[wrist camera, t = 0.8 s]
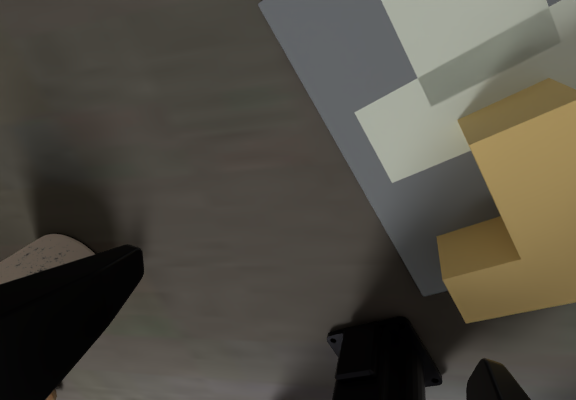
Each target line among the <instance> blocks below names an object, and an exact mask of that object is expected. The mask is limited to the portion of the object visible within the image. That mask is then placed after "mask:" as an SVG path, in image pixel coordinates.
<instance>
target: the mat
mask: <svg viewBox="0 0 576 400" xmlns="http://www.w3.org/2000/svg"><path fill="white" fill-rule="evenodd" d="M258 6H259V8H260V9H261V11H262V13H263V15H264V16H265V18H266V20H267V22H268V23H269V25H270V27H271V29H272V31H273V32H274V34H275V36H276V38H277V39H278V41H279V43H280V45H281V46H282V48H283V50H284V52H285V53H286V55H287V57H288V59H289V61H290V62H291V64H292V66H293V68H294V69H295V71H296V73H297V75H298V76H299V78H300V80H301V82H302V84H303V85H304V87H305V89H306V91H307V92H308V94H309V96H310V98H311V99H312V101H313V103H314V105H315V106H316V108H317V110H318V112H319V114H320V115H321V117H322V119H323V121H324V122H325V124H326V126H327V128H328V129H329V131H330V133H331V135H332V136H333V138H334V140H335V142H336V144H337V145H338V147H339V149H340V151H341V152H342V154H343V156H344V158H345V159H346V161H347V163H348V165H349V166H350V168H351V170H352V172H353V174H354V175H355V177H356V179H357V181H358V182H359V184H360V186H361V188H362V189H363V191H364V193H365V195H366V196H367V198H368V200H369V202H370V204H371V205H372V207H373V209H374V211H375V212H376V214H377V216H378V218H379V219H380V221H381V223H382V225H383V227H384V228H385V230H386V232H387V234H388V235H389V237H390V239H391V241H392V242H393V244H394V246H395V248H396V249H397V251H398V253H399V255H400V257H401V258H402V260H403V262H404V264H405V265H406V267H407V269H408V271H409V272H410V274H411V276H412V278H413V279H414V281H415V283H416V285H417V287H418V288H419V290H420V292H421V294H422V295H423V297H424V296H428V295H433V294H437V293H441V292H445V291H448V289H447V287H446V286H445V284H444V282H443V280H442V274H441V266H440V259H439V252H438V245H437V237H436V236H439V235H443V234H446V233H449V232H452V231H455V230H458V229H461V228H465V227H468V226H471V225H474V224H477V223H480V222H483V221H487V220H490V219H493V218H496V217H499V216H500V213H499V211H498V209H497V207H496V205H495V202H494V200H493V198H492V196H491V194H490V191H489V189H488V187H487V185H486V183H485V180H484V178H483V176H482V174H481V172H480V169H479V167H478V165H477V163H476V161H475V158H474V156H473V154H472V152H471V150H470V147H469V145H468V143H467V141H466V139H465V136H464V134H463V132H462V130H461V128H460V125H459V123H458V121H457V120H458V119H460V118H463V117H465V116H467V115H469V114H471V113H473V112H476V111H478V110H480V109H482V108H484V107H486V106H489V105H491V104H493V103H495V102H497V101H500V100H502V99H504V98H506V97H508V96H510V95H513V94H515V93H517V92H519V91H521V90H523V89H526V88H528V87H530V86H532V85H534V84H536V83H539V82H541V81H543V80H545V79H547V78H550V79H553V80H555V81H557V82H560V83H562V84H564V85H566V86H569V87H571V88H573V89H576V0H263V1H261V2H260V3H259V4H258Z"/></svg>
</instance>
